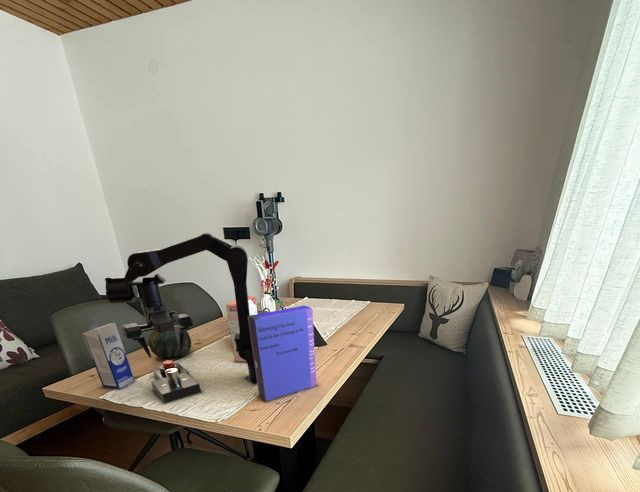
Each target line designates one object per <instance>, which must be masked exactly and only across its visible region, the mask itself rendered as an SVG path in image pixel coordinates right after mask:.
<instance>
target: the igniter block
mask: <svg viewBox="0 0 640 492" xmlns="http://www.w3.org/2000/svg"><path fill="white" fill-rule="evenodd" d="M173 363H174V367H171V368H176V369H178V373H179V374H181V373H185V372H186V373H187V374H188V375H189V376H190V371H189V370H188V369H186V368H185V367H184V366H183V365H181V364H180V363H178V362H173ZM171 368H164V365H163V364H161V365H160V366H159V367H158V368H156V369H153V370H152V373H153V376H154V377H155V378H156V380H159V379H163V378H167V377H166V373H165V371H166V370H168V369H171Z"/></svg>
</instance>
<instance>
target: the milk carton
mask: <svg viewBox="0 0 640 492" xmlns="http://www.w3.org/2000/svg"><path fill="white" fill-rule="evenodd" d="M88 329H89V330H87V331H85V332H83V333H81V335H82V336H83V339H84V342H85V344H86V347H87V350H88V352H89V355H90V357H91V360H92V362H93V365H94V368H95V370H96V373H97V376H98V377H99V380H100V382H101V386H102V388H104V389H105V388H106V389H112V390H121V389H122V388H124V387H126V386H128V385H130V384H132V383H134V382H135V378H134V374H133V372H132V369H131V366H130V363H129V359H128V357H127V354H126V351H125V348H124V345H123V341H122V339H121V336H120V333H119V330H118V327H117V323H116V322H111V323H107V324H104V325H102V326H100V325H99V323H95V324H92V325H91V326H88Z"/></svg>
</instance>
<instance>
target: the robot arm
mask: <svg viewBox="0 0 640 492" xmlns="http://www.w3.org/2000/svg"><path fill="white" fill-rule="evenodd" d="M205 251H207V252H210V253H211V254H213V255H214V256H216V257H218V258H219V259H220V260H223V261H225V262H226V265H227V267H228V271H229V274H230V277H231V280H232V283H233V288H234V289H233V290H234V297H235V300H236V306H237V314H238V322H239V334H236V333H235V343H236V352H238V354H239V356H240V357H241V358H242V359H244V360H246V362H245V363H246V365H247V371H248V375H247V376H245V377H244V378H245V380H247V381H249V382H250V383H252V384H254V385H257V378H256V371H255V364H254V357H253V350H252V343H251V337H250V330H249V323H248V316H250V311H249V302H248V296H249V293H248V287H247V286H248V283H247V278H248V263H249V256H248V253H247V250H246V249H245V248H243V246H241V245H231V244H229V243H228V242H226V241H224V240H222V239H219V238H217V237H215V236H214V235H213V234H211V233H209V232H204V233H201V234H200V235H198V236H196V237H192V238H189V239H186V240H184V241H181V242H178V243H175V244H171V245H169V246H166V247H163V248H156V249H148V250H147V249H146V250H140V251H136V252H134V253H131V254H130V255H129V256H128V258H127V270H126V272H125V274H124V276H107V277H105V278H104V281H105V295H106V299H107V301H108V302H109V303H110V304H112V305H115V304H126V303H127V304H128V303H135V302H136V299H138V298H139V301H140V305H141V309H142V312H143V315H144V318H145V319H144V320H145V322H146V324H145V323H144V324H140V325H139V324H138V323H136V322H132V323H131V322H130V323H127V324H126V323H125V324H122V326H121V329H120V330H121V332H122V335H123V337H125V338H126V339H129V340H132V341H136V342H137V343H138V344H139V345H140V346H141V348H142V349H143V351H144V352H145V354H146V355H147V356H148V358H149V359H152V355H151V350H150V348H149V347H148V346H149V345H148V344H147V342H146V337H145V336H143V335H142V334H143V333H145V332H151V331H152V330H156V332H157V333H163V332H166V331H173V330H174V327H175V332H176V337H177V342H178V346H179V349H180V350H182V347H183V340H184V335H185V332H186V331H187V332H188V330H190V329H191V327H193V326H195V324H194V321H193V320H194V319H193V318H192V317H191V316H190V315H189V314H187V313H179V312H178V311H177V310H173V311H169V312H168V310H167V308H166V305H165V304H164V299H163V296H162V292H161V288H160V285H162V284H165V282H166V279H165V278H164V277H162V276H161V275H160V274H159V273H156V274H154V276H148V275H150V274H152V273H154V272H155V271H157V270H159V269H160V268H162V267H163V266H165V265H168V264H170V263H172V262H175V261H178V260H182V259H185V258H187V257H190V256H193V255H195V254H199V253H202V252H205ZM139 278H142V281H141V280H140V281H136V280H138V279H139Z"/></svg>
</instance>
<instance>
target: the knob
mask: <svg viewBox="0 0 640 492" xmlns="http://www.w3.org/2000/svg"><path fill="white" fill-rule="evenodd" d="M165 373H166V377H167V380H168V384H169V385H175V384H178V383H180V382H181V381H180V377H179V373H178V369H176V368H171V369H168V370H166V371H165Z"/></svg>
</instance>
